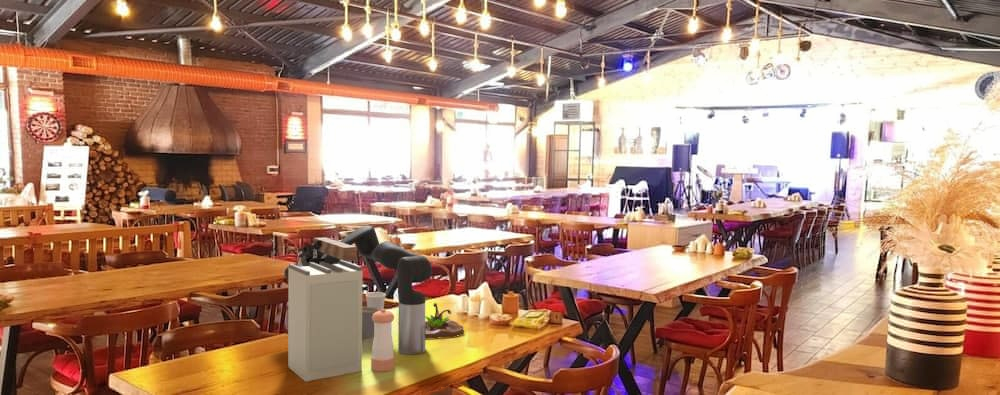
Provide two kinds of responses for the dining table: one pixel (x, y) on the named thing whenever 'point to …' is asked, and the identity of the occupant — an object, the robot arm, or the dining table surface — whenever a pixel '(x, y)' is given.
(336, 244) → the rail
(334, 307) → the cabinet
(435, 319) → the plant
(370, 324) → the coffee mug
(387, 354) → the pepper shaker
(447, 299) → the dining table surface
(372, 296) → the dixie cup
